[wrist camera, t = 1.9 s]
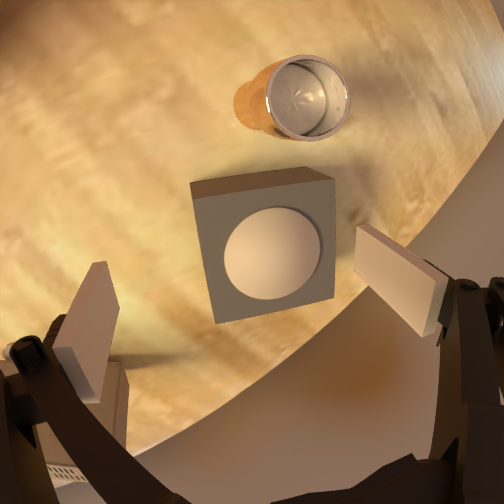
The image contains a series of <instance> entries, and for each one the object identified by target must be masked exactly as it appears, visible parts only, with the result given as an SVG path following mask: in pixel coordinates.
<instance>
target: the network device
mask: <svg viewBox="0 0 504 504" xmlns="http://www.w3.org/2000/svg"><path fill="white" fill-rule="evenodd" d="M13 344H14V343H10V344H8V345H7V346H6V348H5V350H4V355H5V358H6V360H7V361H5V360H0V369H1V370H2V372H3V373H4V375H5V377H6V376H10V375H13V374H16V373H19V371H18V369H17V367H16V366H15V364H14V362H13V360H12V359H11V357H10V353H9V351H10V348H11V346H12V345H13ZM128 397H129V383H128V380H127V377H126V374H125V371H124V368H123V365H122V364H120V363H118V362H107V367H106V372H105V377H104V382H103V388H102V393H101V399H100V403H84V404H85V406H86V407H87V408H88V409H89V410H90V411H91V413H92V414H93V415H94V416H95V417H96V418H97V420H98V421H99V422H100V423H101V424H102V425H103V426H104V427H105V429H106V430H107V431H108V432H109V433H110V434H111V435H112V436H113V437H114V438H115V439H116V440H117V441H118V442H119V443H120V444H121V446H122V447H123V448H124V449H125V450H126V430H127V412H128ZM36 427H37V431H38V436H39V440H40V444H41V447H42V451H43V455H44V458H45V462H46V465H47V468H48V472H49V475H50V478H54V479H62V480H70V481H79V482H88V480H87V479H86V478H85V476H84V475H83V474H82V473H81V471H80V470H79V469H78V467H77V466H76V465H75V463H74V462H73V461H72V459H71V458H70V456H69V455H68V454H67V452H66V451H65V449H64V448H63V446H62V445H61V443H60V442H59V440H58V439H57V437H56V436H55V434H54V433H53V431H52V430H51V428H50V426H49V425H48V423H47V422H44V423H41V424H37V425H36Z"/></svg>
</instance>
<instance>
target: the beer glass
mask: <svg viewBox="0 0 504 504" xmlns="http://www.w3.org/2000/svg"><path fill="white" fill-rule="evenodd" d="M233 108H234V112H235V115H236V117H237V119H238V120H239V121H240V122H241V123H242V124H243V125H244V126H246V127H248V128H250V129H253V130H262V131H264V132H265V133H267V134H269V135H271V136H273V137H277V138H280V139H284V140H291V141H319V140H323V139H325V138H328V137H330V136H331V135H333V134H334V133H336V132H337V131H338V130H339V129H340V128H341V126H342V125H343V124H344V122H345V120H346V118H347V116H348V113H349V108H350V93H349V89H348V86H347V83H346V81H345V79H344V77H343V75H342V74H341V73H340V71H339V70H338V69H337V68H336V67H335V66H334V65H333V64H331V63H330V62H328V61H327V60H325V59H323V58H320V57H317V56H313V55H297V56H293V57H290V58H287V59H284V60H280V61H277V62H275V63H273V64H271V65H269V66H267V67H266V68H264V69H263V70H261V71H260V72H259V73H258V74H257V75H256V76H255V77H254V79H253V80H252V81H249V82H247V83H245V84H244V85H242V86H241V87H240V88H239V89H238V91H237V92H236V94H235V97H234V101H233Z"/></svg>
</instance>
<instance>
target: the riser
mask: <svg viewBox="0 0 504 504" xmlns="http://www.w3.org/2000/svg"><path fill="white" fill-rule="evenodd" d="M190 188H191V194H192V201H193V207H194V213H195V219H196V225H197V231H198V237H199V242H200V248H201V254H202V259H203V265H204V270H205V275H206V281H207V286H208V291H209V296H210V301H211V305H212V310H213V315H214V319H215V324H220V323H225V322H230V321H235V320H240V319H245V318H249V317H254V316H259V315H263V314H268V313H272V312H277V311H281V310H286V309H290V308H294V307H299V306H303V305H307V304H311V303H315V302H319V301H323V300H328V299H332V298H334V288H335V179H333V178H331V177H329V176H326V175H324V174H322V173H319V172H317V171H314V170H312V169H310V168H307V167H298V168H289V169H281V170H273V171H265V172H258V173H250V174H243V175H236V176H230V177H223V178H217V179H210V180H204V181H198V182H192V183H190Z"/></svg>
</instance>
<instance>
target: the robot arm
mask: <svg viewBox="0 0 504 504" xmlns="http://www.w3.org/2000/svg"><path fill="white" fill-rule="evenodd" d="M354 272H355V273H356V274H357V275H358V276H359V277H360V278H362V279H363V280H364V281H365V282H366V283H367V284H368V285H369V286H370V287H371V288H372V289H373V290H374V291H375V292H376V293H377V294H378V295H379V296H381V298H383V299H384V300H385V301H386V302H387V303H388V304H389V305H390V306H391V307H392V308H393V309H394V310H395V311H396V312H397V313H398V314H399V315H400V316H401V317H402V318H403V319H404V320H405V321H406V322H407V323H408V324H409V325H410V326H411V327H412V328H413V329H414V330H415V331H416V332H417V333H418V334H419V335H420V336H421V337H424V336H427V335H429V334H432V333H434V332H435V328H436V325H437V322H440V323H441V324H442V325H443V326H442V329H441V333H440V336H439V339H438V342H437V345H436V346H439V344H440V368H439V385H438V398H437V407H436V416H435V424H434V432H433V439H432V445H431V451H430V454H429V458H428V459H422V460H416V459H415V457H414V455H413V454H412V453H411V454H409V455H407V456H404V457H402V458H401V459H398V460H396V461H394V462H392V463H389V464H387V465H385V466H383V467H381V468H380V469H378V470H377V471H376V472H374V473H373V474H371V475H370V476H369V477H367V478H366V479H364V480H363V481H361V482H360V483H359V484H357V485H356V486H354V487H352V488H349V489H344V490H336V491H325V492H315V493H307V494H304V495H300V496H296V497H292V498H289V499H285V500H280V501H276V502H272V503H270V504H504V405H501V403H500V392H499V387H500V390H501V392H502V395H503V398H504V278H503V277H493V278H491V280H490V283H489V287H487V288H480V286H479V285H478V284H477V283H475V282H474V281H472V280H468V279H457V280H454V279H453V278H452V277H450V276H449V275H447V274H446V273H444V272H443V271H442V270H439V268H437V267H436V266H434V265H433V264H431V263H430V262H428V261H427V260H424V259H422V258H420V257H418V256H417V255H415V254H413V253H412V252H410V251H409V250H408V249H406V248H405V247H403V246H402V245H400V244H398V243H397V242H395V241H394V240H392V239H391V238H389V237H388V236H386V235H384V234H383V233H381V232H380V231H378V230H377V229H375V228H373V227H372V226H370V225H369V224H367V225H359V226H357V229H356V245H355V259H354ZM119 309H120V307H119V304H118V301H117V297H116V294H115V291H114V287H113V283H112V280H111V276H110V272H109V269H108V265H107V261H102V262H96V263H92V265H91V267H90V269H89V271H88V273H87V274H86V276H85V278H84V280H83V282H82V284H81V286H80V288H79V290H78V292H77V294H76V296H75V298H74V300H73V302H72V304H71V307H70V309H69V311H68V313H67V314H62V315H59V316H58V317H57V318H56V319H55V320H54V321H53V322H52V324H51V326H50V328H49V331H48V332H47V334H46V337H45V339H44V341H43V343H42V342H41V340H40V338H38V337H37V336H33V335H31V336H25V337H23V338H20V339H19V340H18V341H16V342H15V343H14V344H13V345H12V346H11V348H10V351H9V353H10V357H11V359H12V360H13V362H14V364H15V366H16V367H17V369H18V371H19V373H16V374H13V375H10V376H6V377H5V375H4V373H3V372H2V370H1V369H0V504H60V503H59V501H58V498H57V495H56V493H55V490H54V487H53V484H52V481H51V478H50V475H49V472H48V468H47V465H46V462H45V458H44V455H43V451H42V447H41V444H40V440H39V436H38V431H37V427H36V425H37V424H41V423H44V422H47V423H48V425H49V426H50V428H51V430H52V431H53V433H54V434H55V436H56V437H57V439H58V440H59V442H60V443H61V445H62V446H63V448H64V449H65V451H66V452H67V454H68V455H69V456H70V458H71V459H72V461H73V462H74V463H75V465H76V466H77V467H78V469H79V470H80V471H81V473H82V474H83V475H84V476H85V478H86V479H87V480H88V482H89V483H90V484H91V485H92V486H93V488H94V489H95V490H96V491H97V493H98V494H99V495H100V496H101V497H102V498H103V499H104V501H105V502H106V503H107V504H191V503H190V502H188V501H187V500H186V499H185V498H183V497H182V496H180V495H179V494H177V493H173V492H171V491H170V490H169V489H168V488H166V487H165V486H164V485H163V484H162V483H161V482H159V481H158V480H157V479H156V478H155V477H154V476H153V475H152V474H150V473H149V472H148V471H147V470H146V469H145V468H144V467H143V466H142V465H141V464H140V463H139V462H138V461H137V460H136V459H134V458H133V457H132V456H131V455H130V454H129V453H128V452H127V451H126V450H125V449H124V448H123V447H122V446H121V444H120V443H119V442H118V441H117V440H116V439H115V438H114V437H113V436H112V435H111V434H110V433H109V432H108V431H107V430H106V429H105V427H104V426H103V425H102V424H101V423H100V422H99V421H98V420H97V418H96V417H95V416H94V415H93V414H92V413H91V411H90V410H89V409H88V408H87V407H86V406H85V404H84V403H100V399H101V393H102V388H103V382H104V377H105V372H106V367H107V362H108V357H109V352H110V347H111V343H112V338H113V334H114V330H115V325H116V321H117V317H118V313H119ZM502 321H503V326H501V324H502Z"/></svg>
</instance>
